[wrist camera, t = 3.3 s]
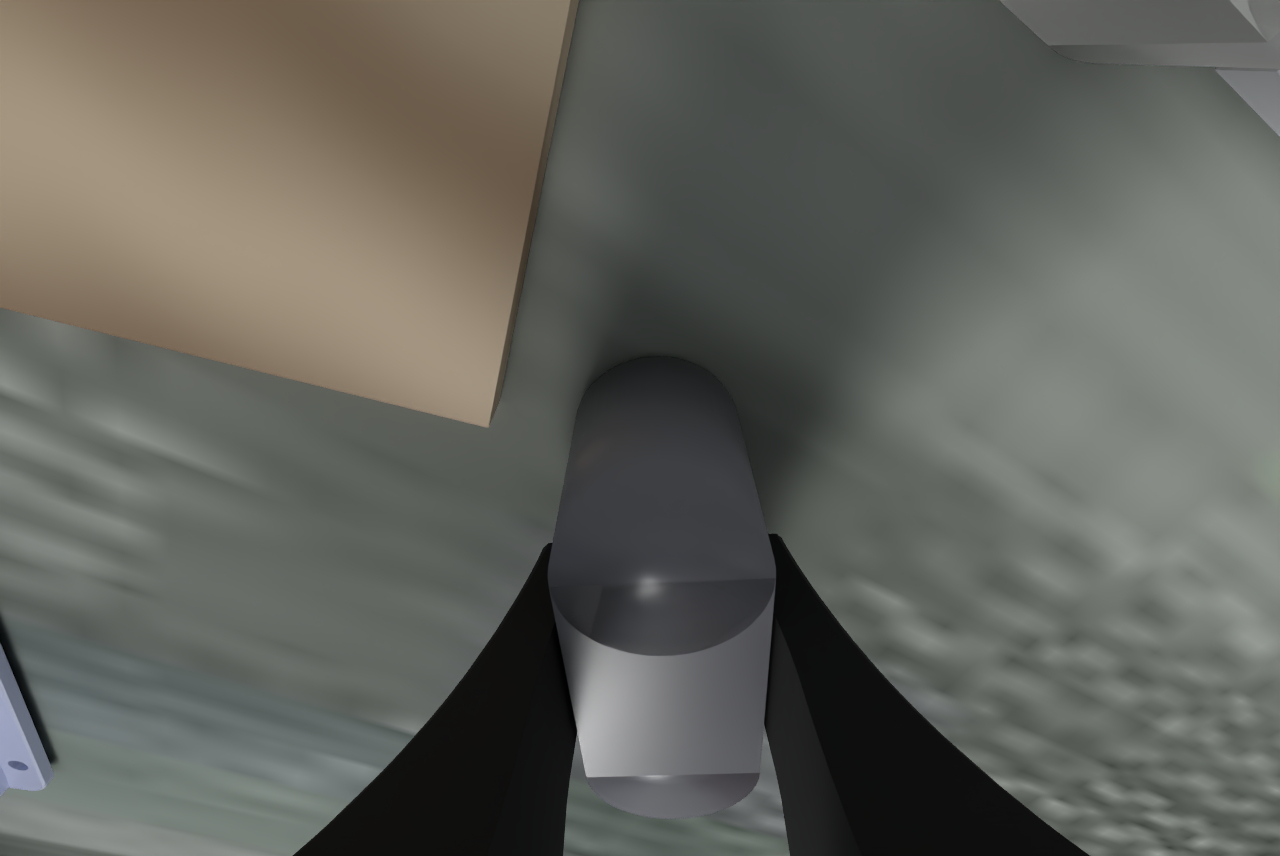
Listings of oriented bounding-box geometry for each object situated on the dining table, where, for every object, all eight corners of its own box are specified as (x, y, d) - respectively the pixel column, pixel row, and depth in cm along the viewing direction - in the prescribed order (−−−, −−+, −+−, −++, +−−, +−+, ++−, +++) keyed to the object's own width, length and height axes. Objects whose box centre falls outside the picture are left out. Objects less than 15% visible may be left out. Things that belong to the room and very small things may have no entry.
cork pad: (499, 400, 12) (488, 427, 11) (-82, 252, 10) (-147, 271, 9) (650, -358, 7) (651, -418, 6) (-464, -864, 5) (-677, -1041, 4)
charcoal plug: (566, 361, 11) (531, 498, 8) (740, 352, 11) (783, 487, 8) (613, 703, 17) (605, 870, 13) (729, 699, 16) (751, 868, 13)
